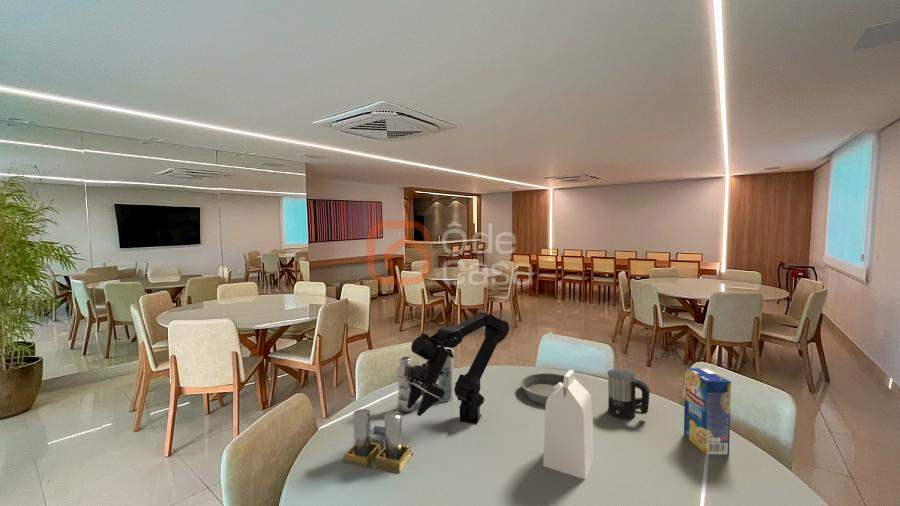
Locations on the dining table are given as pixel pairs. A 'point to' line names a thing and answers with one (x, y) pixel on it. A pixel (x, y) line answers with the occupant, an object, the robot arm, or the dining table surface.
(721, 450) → the blue cardboard box
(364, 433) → the billet twin
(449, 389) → the spray can
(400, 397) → the plastic bottle
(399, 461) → the gold holder tray
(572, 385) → the milk
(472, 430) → the dining table surface
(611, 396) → the milk frother
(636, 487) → the dining table surface
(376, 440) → the grey square dish
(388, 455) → the billet
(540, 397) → the cake pan
